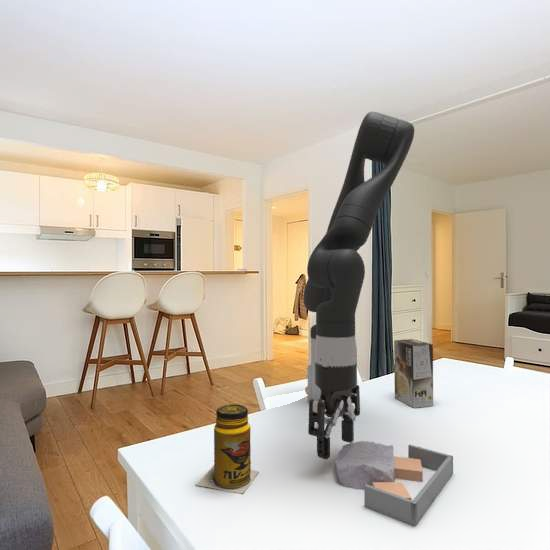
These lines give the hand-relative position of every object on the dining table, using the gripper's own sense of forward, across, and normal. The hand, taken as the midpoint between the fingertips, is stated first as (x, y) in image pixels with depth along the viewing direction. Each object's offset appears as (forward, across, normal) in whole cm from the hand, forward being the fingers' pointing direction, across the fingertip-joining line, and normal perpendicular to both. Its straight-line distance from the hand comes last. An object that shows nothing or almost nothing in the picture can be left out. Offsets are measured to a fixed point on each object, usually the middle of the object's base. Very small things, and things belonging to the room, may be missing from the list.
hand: (336, 449), depth 72 cm
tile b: (+3, -4, +12) cm, 13 cm away
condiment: (+3, +16, -11) cm, 20 cm away
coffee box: (+3, -43, -1) cm, 43 cm away
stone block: (+3, 0, +6) cm, 6 cm away
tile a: (+3, +5, +13) cm, 14 cm away
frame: (+3, 0, +14) cm, 14 cm away
